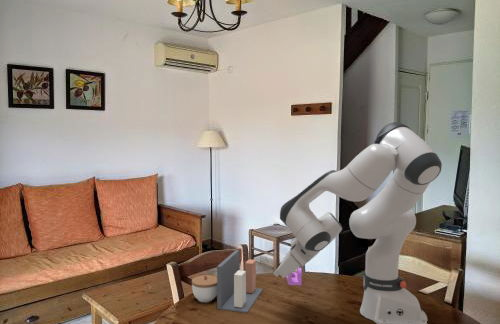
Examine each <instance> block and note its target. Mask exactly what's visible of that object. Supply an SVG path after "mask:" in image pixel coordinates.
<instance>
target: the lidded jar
mask: <svg viewBox="0 0 500 324" xmlns="http://www.w3.org/2000/svg"><path fill="white" fill-rule="evenodd" d="M191 290H192V293H193V296H194V297H195V299H196V300H197V302H199V303H210V301H211V302H213V301H212V300H214V299H216V297H217V275H210V274H204V275H198V276H195V277H193V278H192V279H191Z"/></svg>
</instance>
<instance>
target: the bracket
mask: <svg viewBox="0 0 500 324" xmlns="http://www.w3.org/2000/svg"><path fill="white" fill-rule="evenodd" d="M302 274H303V270H302V267H299V268H297V269H296V272H295V271H293V272H292V273H291V274H289V275H288V276H286V277H285V278H286V281H287V285H288V286H302V285H303V283H302V280H303V279H302V278H303V277H302V276H303V275H302Z"/></svg>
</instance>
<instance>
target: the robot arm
mask: <svg viewBox="0 0 500 324" xmlns="http://www.w3.org/2000/svg"><path fill="white" fill-rule="evenodd" d="M442 167H443V165H442V161H441V159H440V157H439V155H438V154H437V153H435V151H434V150H432V148H431V147H430V146H429V144H428V143H426V141H425V140H424V139H423V138H421V137H420V136H419V135H418V134H416V133H415V132H414V131H413V130H411V128H410V126H407V124H404V123H402V122H400V121H395V122H391V123H388V124H385V126H383V127H382V128H381V129H380V130H379V132H378V133H377V135H376V138H375V140H374V143H372V144H370V145H369V146H367V147H365V148H364V149H363V150H362V151H360V152H359V154H357V155H355V157H354V158H353V159H352V160H351V161H350V162H349V163H347V165H346V166H344V168H342V169H340V170H334V169H331V170H329V171H327V172H325V173H324V174H322V175H321V176H319V177H317V179H315V180H314V181H312V183H310V184H309V185H308V186H306V187H305V188H304V189H303V190H302V191H300V193H299V192H298V194H297V195H295V196H294V197H292V198H291V199H288V200H287V202H284V204H282V206H281V207H280V212H279V220H281V222H282V223H283V224H284V225H285V226H286V227H287V229H288V230H289V231H290V232H291V233H292V235H293V236H294V238H295V239H294V240H293V241H292V242H291V243H290V245H291V247H290V248H289V249H290V250H289V251H288V252H287V253H286V254H285V256H284V257H283V259H282V261H281V262H280V264H279V266H278V267H277V268H276V269H275V270H274V272H273V275H274V276H275V277H279V276H280V277H282V278H286V276H288V275H289V274H291V273H292V272H295V271H297V269H298V268H301V266H302V267H304V266H305V265H306V264H308V263H309V262H310V261H311V260H313V258H315V257H316V256H317V255H318V254H319V253H320V252H321V251H322V250H324V249H325V248H327V246H328V245H330V244H331V243H332V242H333V241H334V240H335V238H336V237H337V236H339V234H340V233H341V232H342V231H343V225H342V223H340V222H339V220H338V219H337V218H336V217H335V215H334V214H333V213H331V212H326V213H324V214H322V216H320V217H317V216H316V215H315V214H314V212H313V211H312V210H311V208H310V203H312V202H313V201H314V200H316V199H317V198H318V197H320V196H321V195H322V194H324V193H325V192H328V193H332V194H334V195H335V196H338V197H339V198H341V199H343V200H345V201H348V202H362V201H365V200H367V199H369V198H370V197H371V196H372V195H373V194H374V193H375V192H376V191H377V190H378V189H379V188H380V187H381V185H383V183H384V182H385V181H386V180H387V178H388V177H389V175H390V174H391V173H392V171H393V170H394V171H393V173H392V175H391V176H390V178H389V179H388V181H387V183H386V184H385V186H384V187H383V188H382V190H381V191H380V192H379V193H378V194H377V195H375V196H374V197H373V198H372V199H371V200H369V201H368V202H367V203H366V204H365V205H363V206H360V207H359V208H358V209H356V210H354V211H353V212H351V214H350V217H349V219H348V221H349V222H348V224H349V228H350V231H351V232H352V234H353V235H354V236H355V237H356V238H359V239H367V240H373V239H375V241H374V243H373V244H372V245H371V246H370V247H369V248H368V249H367V251H366V252H365V271H364V274H363V290H364V292H363V297H362V302H361V306H360V309H359V313H360V314H361V315H362V316H363V317H364V318H366V319H369V320H370V321H373V322H374V323H376V324H428V323H427V321H428V315H427V314H426V312H425V311H424V310H422V308H421V305H420V304H421V303H420V301H419V300H418V298H417V297H416V296H415V295H414V294H412V293H411V292H410V291H409V290H408V289H406V288H407V283H406V281H405V280H404V279H403V277H402V276H401V275H399V264H400V263H399V261H400V256H401V255H400V254H401V251H402V247H403V245H404V243H405V241H406V239H407V237H408V235H410V233H412V231H414V229H415V228H416V225H417V217H416V214H415V212H414V211H413V208H415V206H416V205H417V203H418V202H419V200H420V199H421V197H422V196H423V194H424V193H425V192H426V190H427V188H428V187H429V185H430V184H431V182H433V181H435V180H436V178H437V177H439V175H440V174H441V171H442Z"/></svg>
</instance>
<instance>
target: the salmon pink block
mask: <svg viewBox="0 0 500 324" xmlns="http://www.w3.org/2000/svg"><path fill="white" fill-rule="evenodd" d="M244 268H245V269H244V271H246V292H247V293H253V292H254V290H255V289H256V288H257V287H256V286H257V284H256V283H257V260H256V259H251V258H250V259H247V260H246V261H245V265H244Z"/></svg>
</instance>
